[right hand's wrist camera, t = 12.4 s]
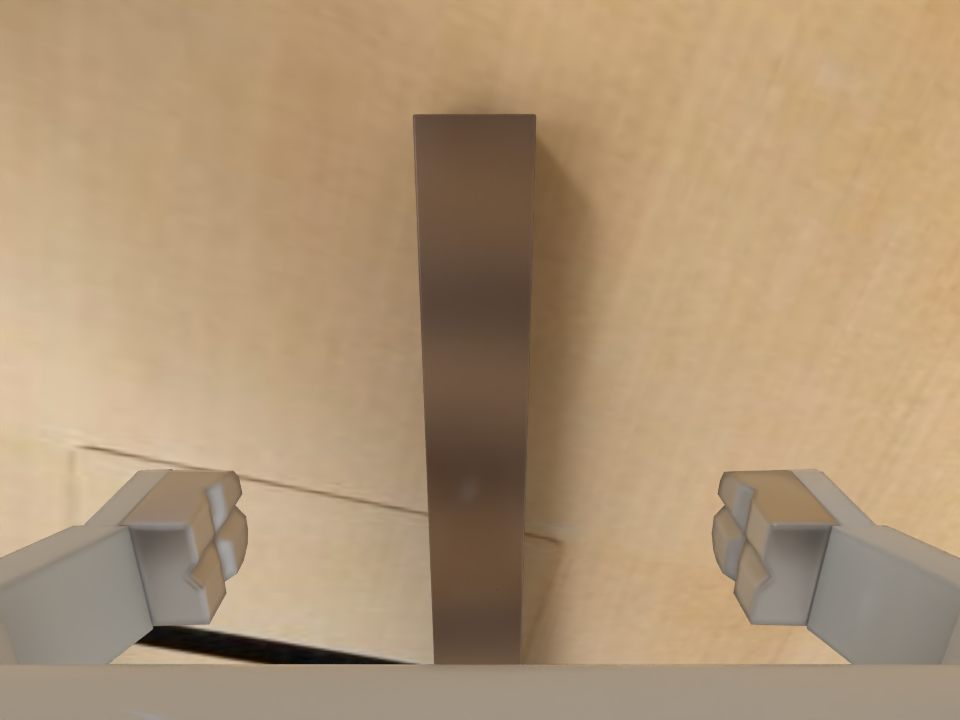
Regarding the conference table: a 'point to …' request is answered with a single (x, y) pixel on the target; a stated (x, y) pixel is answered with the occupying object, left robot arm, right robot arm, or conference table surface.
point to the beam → (475, 373)
